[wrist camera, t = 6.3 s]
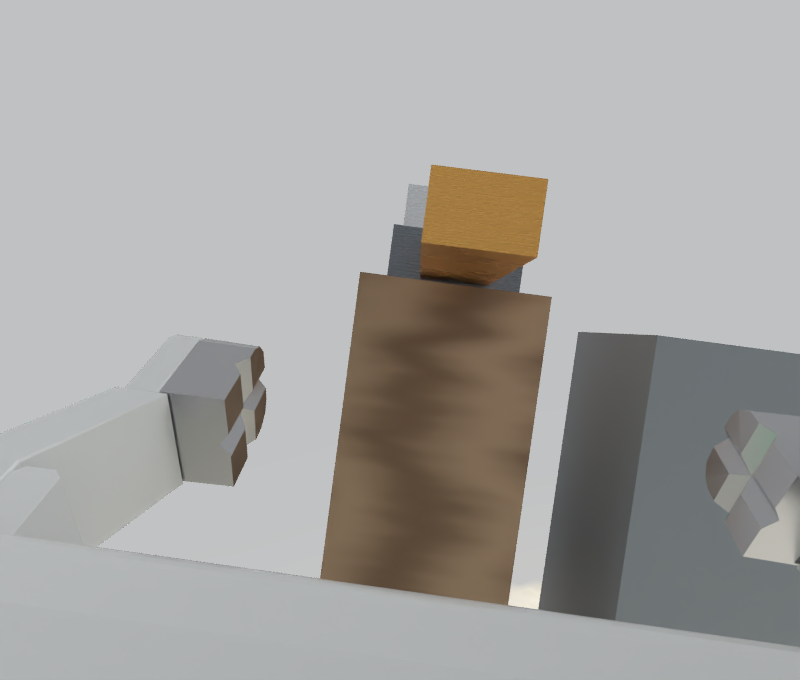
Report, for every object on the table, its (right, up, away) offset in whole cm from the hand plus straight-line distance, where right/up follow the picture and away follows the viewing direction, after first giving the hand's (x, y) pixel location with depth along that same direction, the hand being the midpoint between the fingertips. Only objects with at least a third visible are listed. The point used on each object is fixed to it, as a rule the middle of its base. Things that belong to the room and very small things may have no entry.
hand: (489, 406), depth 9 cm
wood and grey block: (+1, +3, +14) cm, 15 cm away
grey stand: (+10, -23, +19) cm, 31 cm away
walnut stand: (-2, -21, +19) cm, 29 cm away
